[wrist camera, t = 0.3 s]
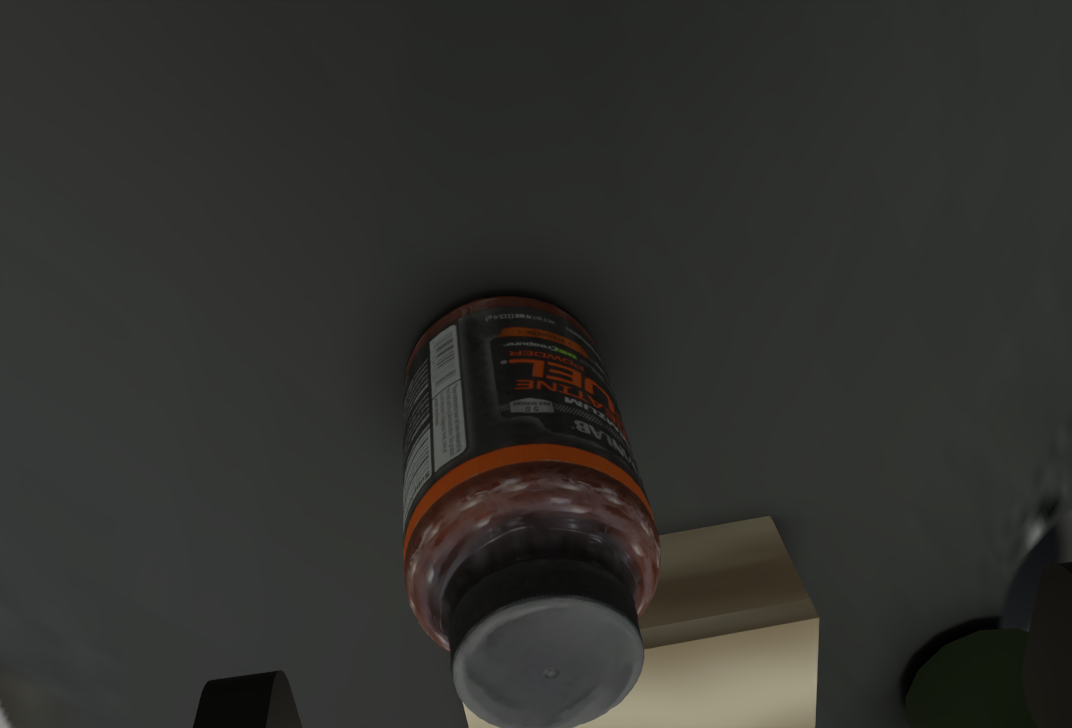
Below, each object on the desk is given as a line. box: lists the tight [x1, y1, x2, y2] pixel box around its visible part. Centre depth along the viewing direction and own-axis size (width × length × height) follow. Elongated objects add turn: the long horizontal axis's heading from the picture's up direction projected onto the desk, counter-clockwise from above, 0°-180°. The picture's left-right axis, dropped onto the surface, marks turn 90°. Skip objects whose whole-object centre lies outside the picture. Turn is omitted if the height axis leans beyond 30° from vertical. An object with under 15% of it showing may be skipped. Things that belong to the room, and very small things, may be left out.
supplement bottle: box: [403, 296, 661, 728], centre depth 25 cm, size 6×6×11 cm
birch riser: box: [463, 516, 819, 728], centre depth 35 cm, size 11×11×5 cm
